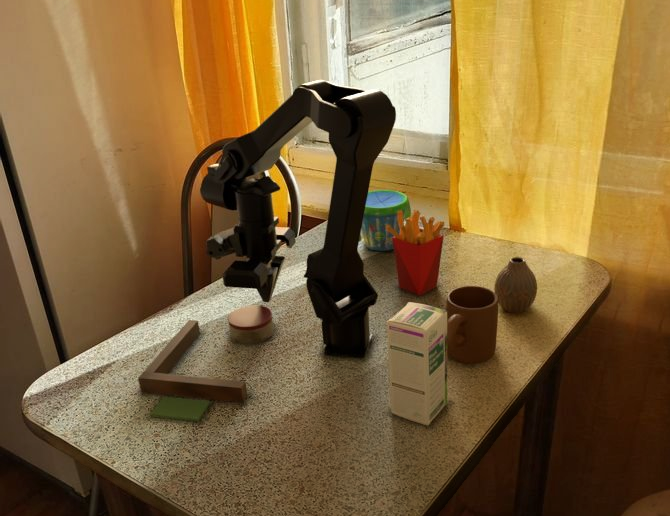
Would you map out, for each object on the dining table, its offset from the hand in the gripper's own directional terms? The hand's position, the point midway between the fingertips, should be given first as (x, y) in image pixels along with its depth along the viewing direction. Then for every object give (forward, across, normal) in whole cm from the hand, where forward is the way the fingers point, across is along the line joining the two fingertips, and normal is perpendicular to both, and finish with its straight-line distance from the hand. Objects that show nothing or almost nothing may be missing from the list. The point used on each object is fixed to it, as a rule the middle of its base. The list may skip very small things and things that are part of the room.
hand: (266, 301), depth 115 cm
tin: (+2, +7, 0) cm, 8 cm away
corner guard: (+2, +17, -2) cm, 17 cm away
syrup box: (+2, +23, +30) cm, 37 cm away
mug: (+2, +10, +34) cm, 36 cm away
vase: (+2, -7, +41) cm, 42 cm away
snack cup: (+2, -30, +14) cm, 33 cm away
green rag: (+2, +28, -2) cm, 29 cm away
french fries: (+2, -11, +24) cm, 27 cm away
